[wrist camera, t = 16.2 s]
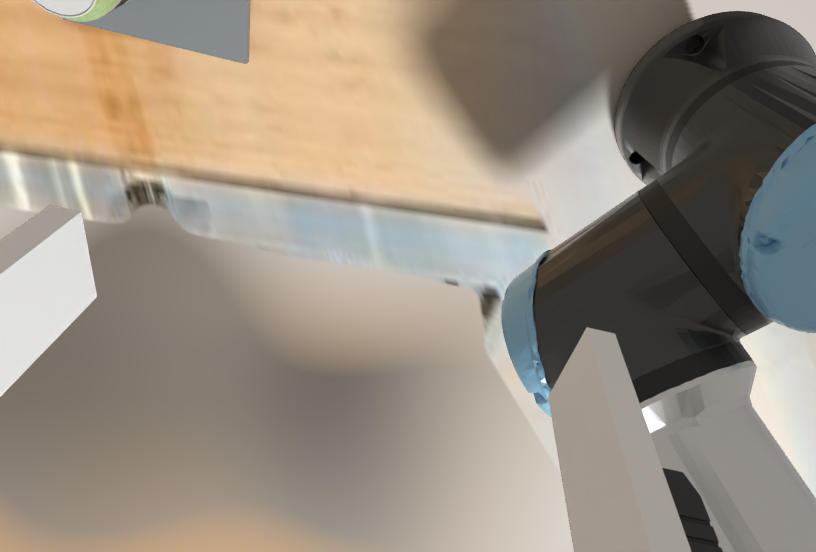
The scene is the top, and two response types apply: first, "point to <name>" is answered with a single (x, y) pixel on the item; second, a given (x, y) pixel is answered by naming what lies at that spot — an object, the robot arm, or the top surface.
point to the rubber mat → (185, 25)
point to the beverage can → (80, 8)
